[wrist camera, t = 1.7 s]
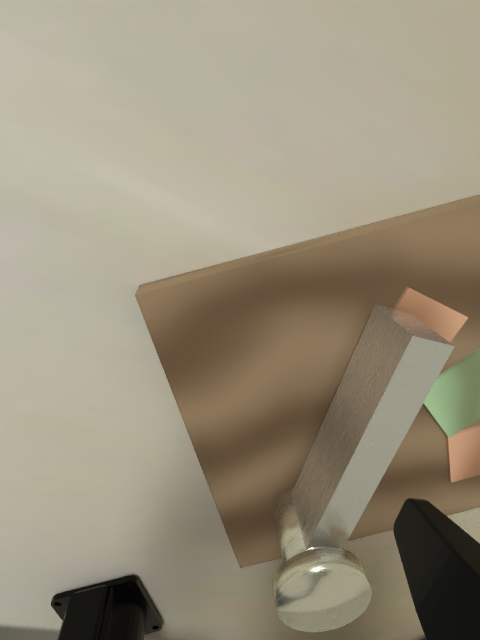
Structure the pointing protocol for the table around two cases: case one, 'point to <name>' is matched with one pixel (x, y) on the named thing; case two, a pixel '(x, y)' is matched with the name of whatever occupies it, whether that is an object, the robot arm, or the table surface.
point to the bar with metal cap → (351, 469)
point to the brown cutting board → (322, 363)
